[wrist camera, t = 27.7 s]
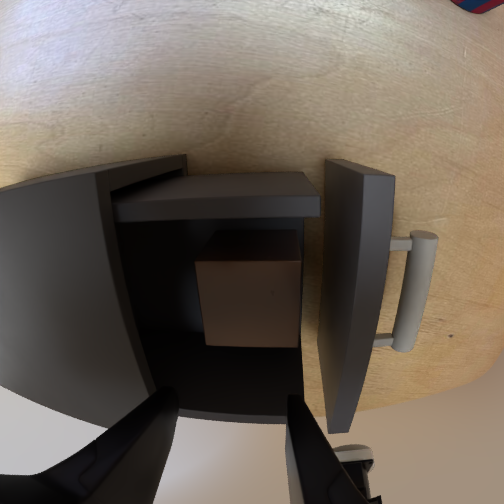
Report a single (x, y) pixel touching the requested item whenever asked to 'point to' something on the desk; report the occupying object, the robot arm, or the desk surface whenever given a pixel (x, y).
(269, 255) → the block
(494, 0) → the mug
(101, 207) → the cabinet
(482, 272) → the desk surface
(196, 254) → the drawer
